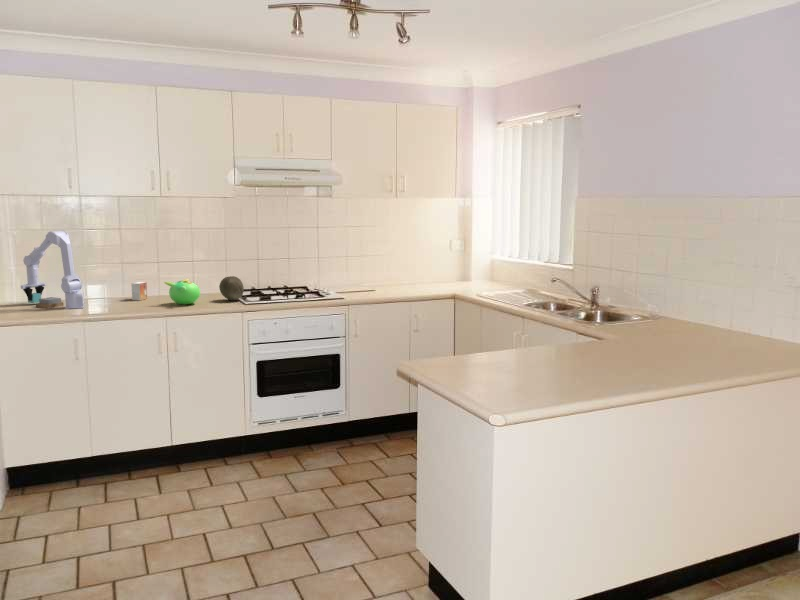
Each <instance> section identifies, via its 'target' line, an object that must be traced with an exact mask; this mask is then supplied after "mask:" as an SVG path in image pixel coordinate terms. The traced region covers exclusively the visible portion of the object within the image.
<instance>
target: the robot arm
mask: <svg viewBox="0 0 800 600" xmlns="http://www.w3.org/2000/svg"><path fill="white" fill-rule="evenodd" d="M51 245H56V246H57V247H59V248H60V253H61V254H60V255H61V259H62V260H61V262H62V267H63V269H62V270H63V273H64V274H63V276H62V278H61V285H60V288H61V291H62V292H63V293H64V298H65V306H64V309H65V310H67V309H83V308H84V307H85V298H84V292H83V291H81V289H82V287H83V284H82V281H81V279H80V276H78V275H77V274H76V272H75V271H76V270H75V263H74V257H73V250H72V243H71V240H70V235H69V233H68V232H67V231H65V230H55V231H48V232H47V233H46V234H45V239H44V240H43V241H42V243H41V244H40V245H39V246H36V247H34V248H33V250H32V251H31V252H30V253H29V255H25V256H24V257H23V264H24V266H26V267H25V268H26V276H27V277H26V278H27V283H26V284H21V285H20V289H22V291H24V294H25V295H26V297H27V301H28V300H30V301H31V300H32V293H33V288H34V290H35V293H41V296H42V294H43V291H44V289H45V287H46V286H47V282H44V281H43V282H40V279H39V266H40V261H41V258H42V257H43V256H44V255H45V254H46V250H47V249H49V248H50V246H51Z"/></svg>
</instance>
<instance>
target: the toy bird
mask: <svg viewBox="0 0 800 600" xmlns="http://www.w3.org/2000/svg"><path fill="white" fill-rule="evenodd" d="M163 283H164V284H165V285H167V286H169V287H170V288H169V289H168V290H169V291H168V294H169V297H170V299H171V300H172V302H174V303H176V304H179V305H183V306H184V305H191V304H194V303H196V302H197V300H199V298H200V295H201V290H200V288H199V286H198V285H197V284H196V283H194V282H192V281H190V278H188V279H184V280H180V281H177V282H170V281H164V282H163Z"/></svg>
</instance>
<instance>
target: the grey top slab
mask: <svg viewBox="0 0 800 600" xmlns="http://www.w3.org/2000/svg"><path fill="white" fill-rule="evenodd" d="M61 302H62V298H61V297H53V296H51V297H45V298H42V297H41V299H39V302H38V303H41V304H55V303H61Z"/></svg>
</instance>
